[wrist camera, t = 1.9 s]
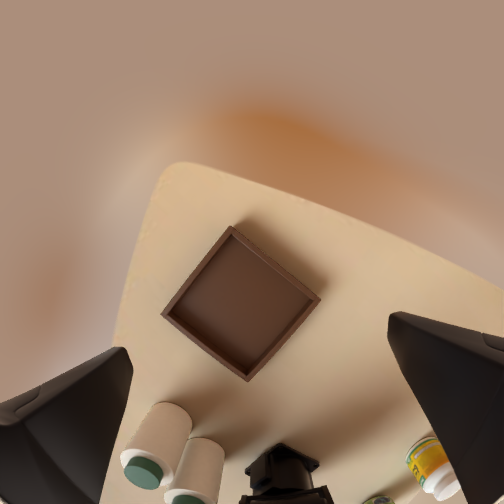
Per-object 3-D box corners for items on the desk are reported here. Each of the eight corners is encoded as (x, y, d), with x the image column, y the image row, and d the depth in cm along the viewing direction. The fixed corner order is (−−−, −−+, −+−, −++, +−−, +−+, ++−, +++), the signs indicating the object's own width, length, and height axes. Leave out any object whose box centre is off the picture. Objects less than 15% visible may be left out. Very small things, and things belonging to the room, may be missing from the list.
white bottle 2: (233, 452, 26) (225, 515, 16) (208, 471, 26) (195, 530, 16) (197, 430, 26) (177, 492, 16) (174, 451, 26) (150, 508, 16)
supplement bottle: (439, 447, 26) (471, 482, 16) (409, 469, 26) (435, 509, 16) (432, 428, 26) (468, 467, 16) (399, 453, 26) (429, 497, 16)
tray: (317, 296, 26) (321, 299, 24) (248, 374, 26) (247, 382, 24) (231, 226, 26) (230, 225, 24) (166, 309, 26) (160, 314, 24)
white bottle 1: (201, 421, 26) (181, 483, 16) (177, 443, 26) (153, 501, 16) (163, 394, 26) (128, 449, 16) (141, 418, 26) (106, 471, 16)
